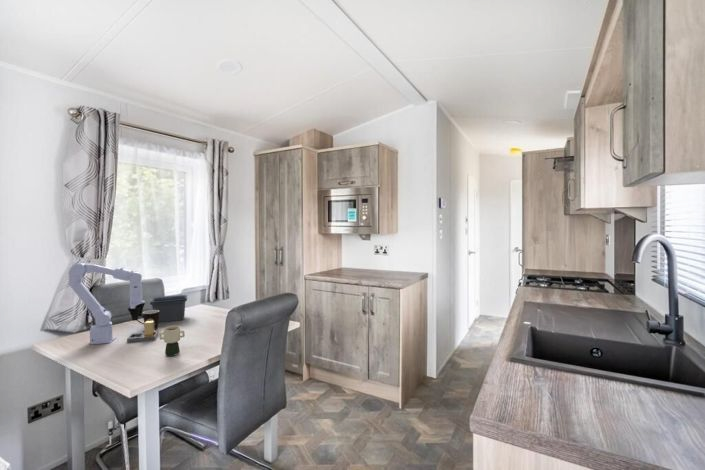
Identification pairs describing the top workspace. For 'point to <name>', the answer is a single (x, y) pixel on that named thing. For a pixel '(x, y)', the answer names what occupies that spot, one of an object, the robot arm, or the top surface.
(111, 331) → the robot arm
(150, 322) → the brass peg
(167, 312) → the storage bin
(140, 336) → the socket
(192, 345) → the top surface
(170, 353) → the beige trophy cup
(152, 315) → the coffee mug
